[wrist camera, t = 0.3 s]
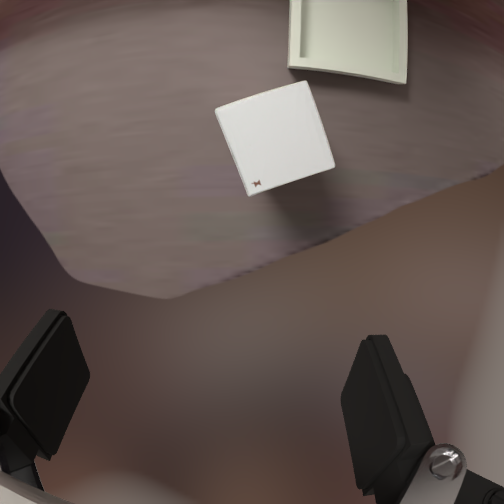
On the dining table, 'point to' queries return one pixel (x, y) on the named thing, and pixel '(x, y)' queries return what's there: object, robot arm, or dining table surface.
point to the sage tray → (350, 38)
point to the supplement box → (276, 137)
